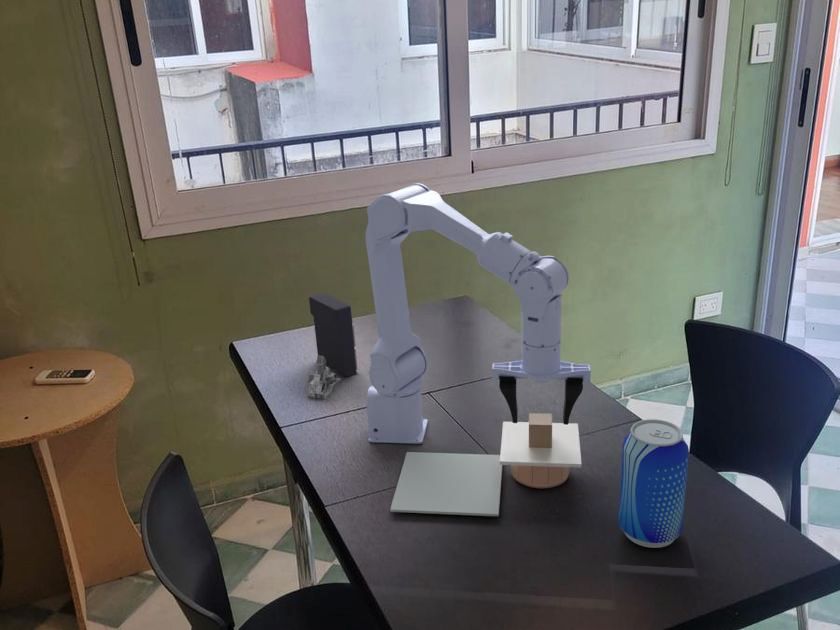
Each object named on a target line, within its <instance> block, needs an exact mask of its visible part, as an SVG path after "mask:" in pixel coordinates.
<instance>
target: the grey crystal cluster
mask: <svg viewBox="0 0 840 630" xmlns="http://www.w3.org/2000/svg"><path fill="white" fill-rule="evenodd" d="M325 362H326V360H325V358H324V356H318V354H317V356H316V362H315V365H316V372H315V373H313V374H311V373H309V374H308V377H307V385H308V391H307V396H308V398H313V399H314V398H315V399H322V400H326V398H327V397H328V396H330V394H331V393H332V392H333V391H334V389H336V388H337V387H338V386H339V385H340V384H341V382H342V381H341V378H342V377H341V378H339V377H338V376H337V374H336V373H335V372H332V371H331V369H330V368H329V367H327V366H326V363H325Z"/></svg>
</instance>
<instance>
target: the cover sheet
mask: <svg viewBox="0 0 840 630" xmlns="http://www.w3.org/2000/svg"><path fill="white" fill-rule="evenodd" d="M501 432H502V433H501V444H500V454H499V455H500V465H502V466H511V465H519V466H548V467H569V468H582V465H583V464H582V454H581V445H580V444H581V442H580V433H579V423H572V422H571V423H569V422H568V425H564V423H563V422H553V414H552V413H536V412H535V413H534V412H533V413H531V412H529V413H528V421H527V422H526V421H524V422H523V421H517V423H513V421H502V430H501Z"/></svg>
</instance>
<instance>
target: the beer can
mask: <svg viewBox="0 0 840 630" xmlns="http://www.w3.org/2000/svg"><path fill="white" fill-rule="evenodd" d="M621 452H622V454H621V471H620V472H621V473H620V487H619V488H620V490H619V491H620V493H619V509H618V524H619V527H620V529H621V530H622V532H623V533H624V534H625V536H626V537H627V538H628V539H629V541H631V542H633V543H634V544H636V545H638V546H642V547H646V548H650V549H651V548H653V549H655V548H663V547H667V546H669V545H671V544H672V543H674V541H675V540H676V539H677V538H678V537H680V535H681V534H682V532H683V524H684V523H683V521H684V513H685V512H684V511H685V502H686V501H685V499H686V488H687V478H688V477H687V476H688V468H689V466H688V465H689V456H690V454H689V453H690V448H689V445H688V444H687V442H686V439H684V432H683V431H682V429H681V428H680V427H679V426H678V425H676V424H674V423H673V422H670V421H667V420H663V419H653V418H652V419H651V418H650V419H649V418H648V419H642V420H640V421H637V422H635V423H633V425H632V426H631V428H630V431H629V433H628V434H627V435H626V437H625V438H624V439H623V442H622V451H621Z"/></svg>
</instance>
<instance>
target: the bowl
mask: <svg viewBox="0 0 840 630" xmlns="http://www.w3.org/2000/svg"><path fill="white" fill-rule="evenodd" d="M510 466H511V467H510V470H511V475H512V478H513V479H514V480H515V481H517V483H519V484H521V485H522V486H526V487H528V488H534V489H550V488H555V487H558V486H560V485H562V484H564V483H565V482H566V481H567V480H568V478H569V476H570V467H548V466H519V465H510Z"/></svg>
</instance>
